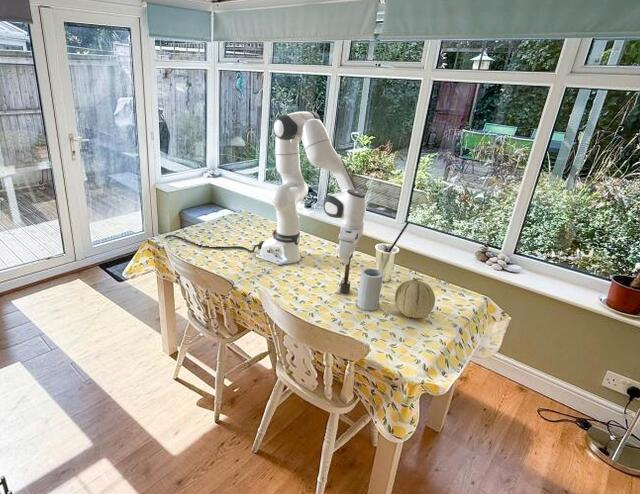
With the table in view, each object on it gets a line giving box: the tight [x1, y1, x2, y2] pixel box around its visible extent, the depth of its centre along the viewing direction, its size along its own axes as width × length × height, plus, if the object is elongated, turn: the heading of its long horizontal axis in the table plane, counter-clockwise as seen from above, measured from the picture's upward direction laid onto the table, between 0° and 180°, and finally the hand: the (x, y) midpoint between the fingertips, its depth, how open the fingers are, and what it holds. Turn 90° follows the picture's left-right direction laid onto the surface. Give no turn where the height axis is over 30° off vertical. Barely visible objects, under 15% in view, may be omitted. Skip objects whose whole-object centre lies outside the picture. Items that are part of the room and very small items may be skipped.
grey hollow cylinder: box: [356, 267, 383, 312], centre depth 164 cm, size 8×8×15 cm
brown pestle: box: [339, 256, 352, 295], centre depth 173 cm, size 4×4×20 cm
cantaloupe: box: [394, 277, 436, 319], centre depth 158 cm, size 15×15×15 cm
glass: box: [374, 221, 410, 283], centre depth 182 cm, size 11×11×30 cm
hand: (348, 260), depth 171 cm, fingers open, 5 cm apart
